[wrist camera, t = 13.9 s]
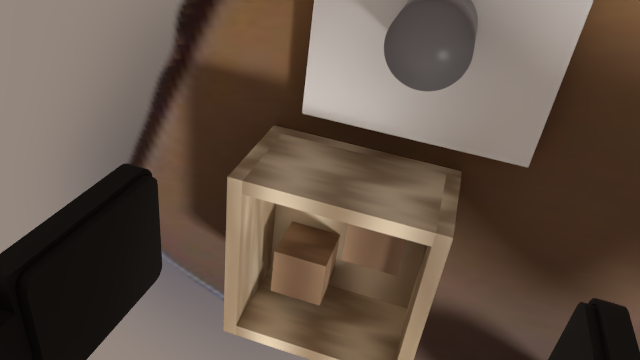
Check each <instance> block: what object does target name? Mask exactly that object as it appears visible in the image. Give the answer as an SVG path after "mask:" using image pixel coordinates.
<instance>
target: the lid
mask: <svg viewBox="0 0 640 360" xmlns="http://www.w3.org/2000/svg"><path fill="white" fill-rule="evenodd" d="M592 3H593V0H314V6H313V15H312V25H311V34H310V43H309V53H308V62H307V71H306V80H305V90H304V99H303V108H302V114H307V115H311V116H315V117H319V118H323V119H327V120H332V121H336V122H340V123H344V124H348V125H352V126H357V127H361V128H365V129H369V130H373V131H377V132H382V133H386V134H390V135H394V136H398V137H403V138H407V139H411V140H415V141H419V142H423V143H428V144H432V145H436V146H440V147H444V148H448V149H453V150H457V151H461V152H465V153H469V154H473V155H478V156H482V157H486V158H490V159H494V160H498V161H503V162H507V163H511V164H515V165H519V166H523V167H529V164H530V162H531V159H532V157H533V154H534V152H535V149H536V146H537V144H538V141H539V139H540V136H541V134H542V131H543V129H544V126H545V123H546V121H547V118H548V116H549V113H550V111H551V108H552V105H553V103H554V100H555V98H556V95H557V93H558V90H559V88H560V85H561V82H562V80H563V77H564V75H565V72H566V70H567V67H568V65H569V62H570V59H571V57H572V54H573V52H574V49H575V47H576V44H577V41H578V39H579V36H580V34H581V31H582V29H583V26H584V24H585V21H586V18H587V16H588V13H589V11H590V8H591V6H592Z"/></svg>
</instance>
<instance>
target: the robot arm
mask: <svg viewBox="0 0 640 360" xmlns="http://www.w3.org/2000/svg"><path fill="white" fill-rule="evenodd" d="M161 269H162V255H161V237H160V219H159V202H158V184H157V180H156V179H155V178H153V177H152V173H151V172H150V171H149V170H148V169H145V168H141V167H138V166H134V165H131V164H123V165H121V166H119V167H118V168H117V169H115V170H114V171H113V172H111V173H110V174H108V175H107V176H106V177H104V178H103V179H102V180H100V181H99V182H97V183H96V184H95V185H94V186H92V187H91V188H89V189H88V190H87V191H85V192H84V193H82V194H81V195H80V196H78V197H77V198H76V199H74V200H73V201H72V202H70V203H69V204H67V205H66V206H65V207H64V208H62V209H61V210H59V211H58V212H57V213H55V214H54V215H53V216H51V217H50V218H48V219H47V220H46V221H44V222H43V223H42V224H40V225H39V226H38V227H36V228H35V229H34V230H32V231H31V232H29V233H28V234H27V235H25V236H24V237H22V238H21V239H20V240H18V241H17V242H16V243H14V244H13V245H12V246H10V247H9V248H8V249H6V250H5V251H3V252H2V253H1V254H0V360H86V359H87V358H88V357H89V356H90V355H91V354H92V353H93V352H94V350H95V349H96V348H97V347H98V346H99V345H100V344H101V343H102V341H103V340H104V339H105V338H106V337H107V336H108V335H109V333H110V332H111V331H112V330H113V329H114V328H115V326H117V324H118V323H119V322H120V321H121V320H122V319H123V317H124V316H125V315H126V314H127V313H128V312H129V310H131V308H132V307H133V306H134V305H135V304H136V303H137V302H138V301H139V299H140V298H141V297H142V296H143V295H144V294H145V293H146V291H147V290H148V289H149V288H150V287H151V286H152V285H153V284H154V282H155V281H156V280H157V278H158V277H159V275H160V272H161ZM548 360H640V351H639V348H638V344H637V341H636V337H635V333H634V330H633V326H632V323H631V319H630V315H629V312H628V310H627V308H626V307H624V306H621V305H617V304H614V303H610V302H607V301H603V300H600V299H596V298H593V299H592V300H590V302H589V303H588V304H587V303H584V302H580V303H579V304H578V305H577V307H576V309H575V311H574V312H573V314H572V316H571V318H570V320H569V322H568V324H567V326H566V327H565V329H564V331H563V333H562V335H561V337H560V339H559V340H558V342H557V344H556V346H555V348H554V350H553V352H552V354H551V355H550V357H549V359H548Z"/></svg>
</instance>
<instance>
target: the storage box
mask: <svg viewBox="0 0 640 360" xmlns="http://www.w3.org/2000/svg"><path fill="white" fill-rule="evenodd" d="M461 175H462V171H458V170H454V169H450V168H446V167H442V166H438V165H434V164H430V163H426V162H422V161H418V160H414V159H410V158H406V157H401V156H397V155H393V154H389V153H385V152H381V151H377V150H373V149H369V148H365V147H361V146H357V145H353V144H349V143H345V142H341V141H337V140H333V139H329V138H324V137H320V136H316V135H312V134H308V133H304V132H300V131H296V130H292V129H288V128H284V127H280V126H276V125H274V126H273V127H272V128H271V129H270V130H269V131H268V132H267V133H266V135H265V136H264V137H263V138H262V139H261V140H260V141H259V142H258V143H257V145H256V146H255V147H254V148H253V149H252V150H251V151H250V152H249V153H248V155H247V156H246V157H245V158H244V159H243V160H242V161H241V162H240V163H239V165H238V166H237V167H236V168H235V169H234V170H233V171H232V172H231V173H230V174H229V176H228V177H227V213H226V253H225V294H224V331H225V332H228V333H232V334H235V335H238V336H240V337H244V338H247V339H250V340H253V341H256V342H259V343H262V344H265V345H268V346H271V347H274V348H277V349H280V350H283V351H286V352H289V353H292V354H295V355H298V356H301V357H304V358H307V359H310V360H414V357H415V354H416V351H417V347H418V344H419V341H420V338H421V335H422V332H423V329H424V326H425V323H426V320H427V317H428V314H429V311H430V308H431V305H432V302H433V299H434V296H435V293H436V289H437V286H438V283H439V280H440V277H441V274H442V271H443V268H444V265H445V262H446V259H447V256H448V253H449V250H450V247H451V244H452V241H453V237H454V229H455V221H456V214H457V206H458V198H459V191H460V183H461ZM292 221H293V222H297V223H300V224H304V225H308V226H311V227H315V228H318V229H322V230H325V231H329V232H332V233H336V234H340V239H339V245H338V251H337V256H336V262H335V268H334V273H333V275H332V278H331V280H330V282H329V285H328V287H327V290H326V292H325V294H324V297H323V299H322V301H321V304H320V306H319V305H315V304H312V303H309V302H306V301H303V300H299V299H296V298H293V297H290V296H286V295H283V294H280V293H277V292H274V291H271V282H272V271H273V260H274V251H275V249H276V248H277V246H278V244H279V243H280V241H281V239H282V238H283V236H284V234H285V233H286V231H287V229H288V228H289V226H290V224H291V223H292ZM348 224H351V225H355V226H358V227H362V228H366V229H369V230H373V231H376V232H380V233H384V234H387V235H391V236H395V237H398V238H402V239H405V240H406V243H405V247H404V250H403V254H402V258H401V262H400V266H399V269H398V273H397V276H395V275H391V274H388V273H384V272H381V271H377V270H374V269H371V268H367V267H364V266H360V265H357V264H353V263H350V262H346V261H343V260H341V259H342V254H343V248H344V243H345V237H346V232H347V227H348Z"/></svg>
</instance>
